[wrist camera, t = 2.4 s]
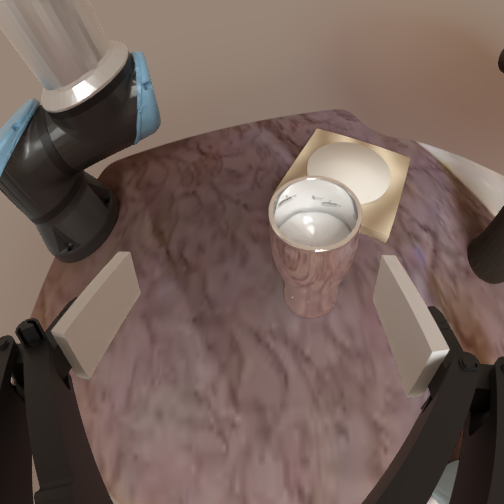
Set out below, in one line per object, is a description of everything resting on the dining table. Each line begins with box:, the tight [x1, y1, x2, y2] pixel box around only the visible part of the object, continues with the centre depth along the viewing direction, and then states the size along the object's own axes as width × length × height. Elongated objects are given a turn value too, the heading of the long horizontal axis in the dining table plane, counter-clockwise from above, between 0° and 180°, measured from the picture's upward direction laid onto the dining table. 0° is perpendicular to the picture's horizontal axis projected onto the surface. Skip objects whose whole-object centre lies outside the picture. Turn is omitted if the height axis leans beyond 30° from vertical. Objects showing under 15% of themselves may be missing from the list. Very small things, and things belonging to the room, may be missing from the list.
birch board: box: [273, 129, 410, 243], centre depth 39 cm, size 16×16×2 cm
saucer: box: [307, 142, 391, 205], centre depth 38 cm, size 12×12×1 cm
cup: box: [432, 460, 459, 504], centre depth 13 cm, size 8×8×10 cm
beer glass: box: [268, 176, 363, 318], centre depth 26 cm, size 7×7×15 cm
